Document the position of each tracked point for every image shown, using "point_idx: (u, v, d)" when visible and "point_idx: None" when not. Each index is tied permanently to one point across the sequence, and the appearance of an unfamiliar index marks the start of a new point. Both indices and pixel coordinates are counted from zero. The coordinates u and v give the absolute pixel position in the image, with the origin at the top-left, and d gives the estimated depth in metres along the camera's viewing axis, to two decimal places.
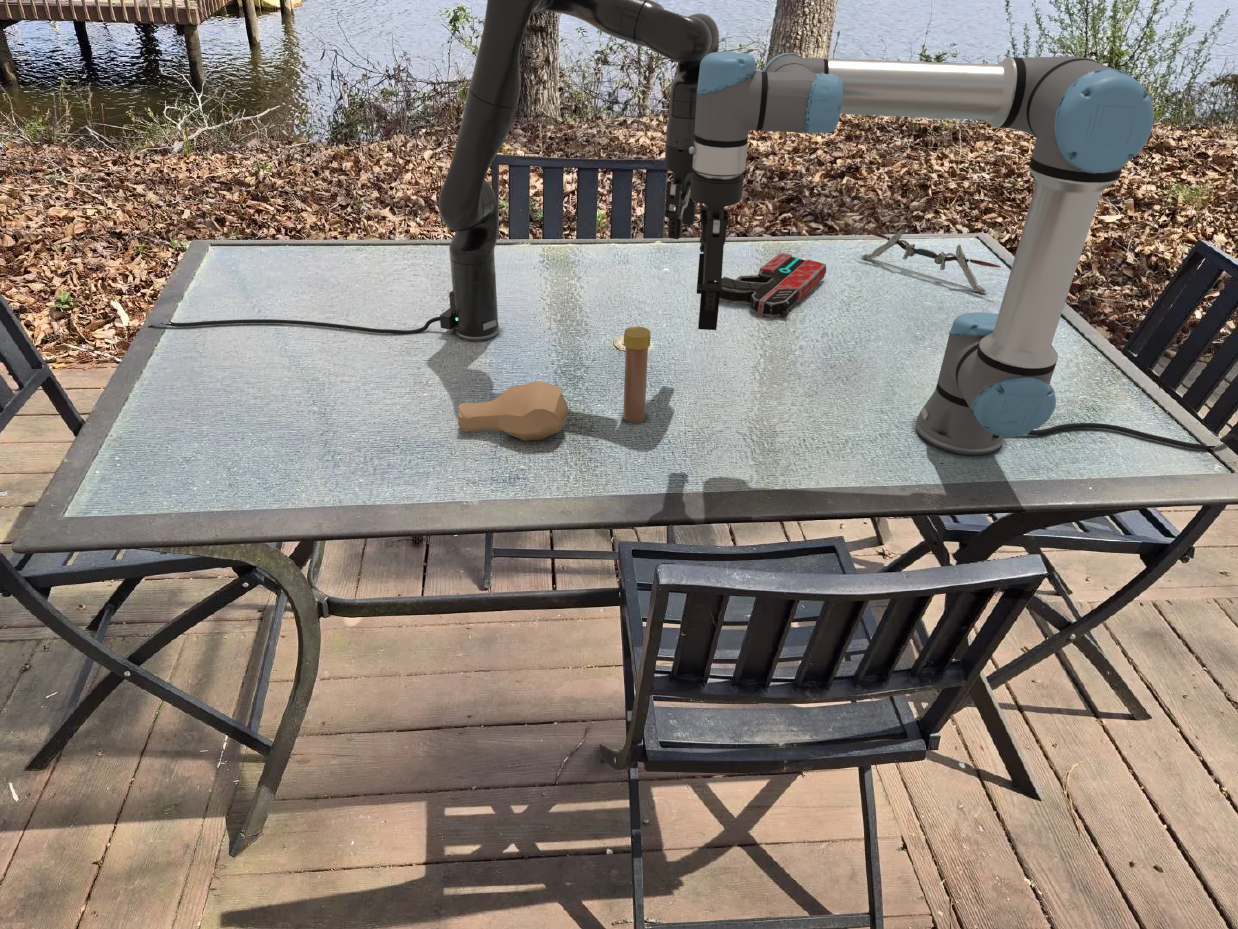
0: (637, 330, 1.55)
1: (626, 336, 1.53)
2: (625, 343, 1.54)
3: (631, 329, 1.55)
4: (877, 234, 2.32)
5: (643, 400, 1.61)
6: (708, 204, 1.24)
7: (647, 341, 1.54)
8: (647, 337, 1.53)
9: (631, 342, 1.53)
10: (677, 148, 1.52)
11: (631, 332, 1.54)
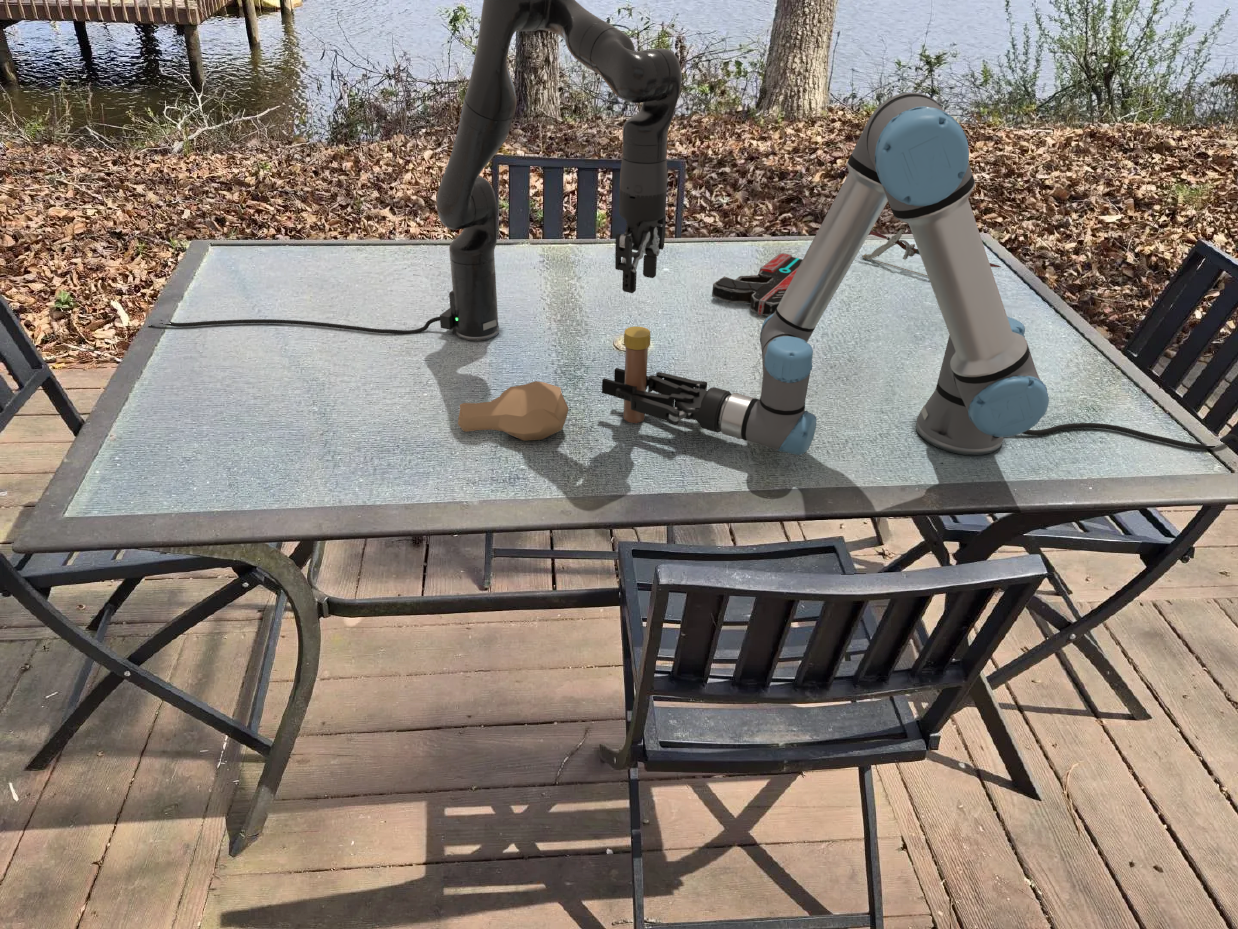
0: (637, 330, 1.55)
1: (626, 336, 1.53)
2: (625, 343, 1.54)
3: (631, 329, 1.55)
4: (877, 234, 2.32)
5: None
6: None
7: (647, 341, 1.54)
8: (647, 337, 1.53)
9: (631, 342, 1.53)
10: (629, 194, 1.38)
11: (631, 332, 1.54)
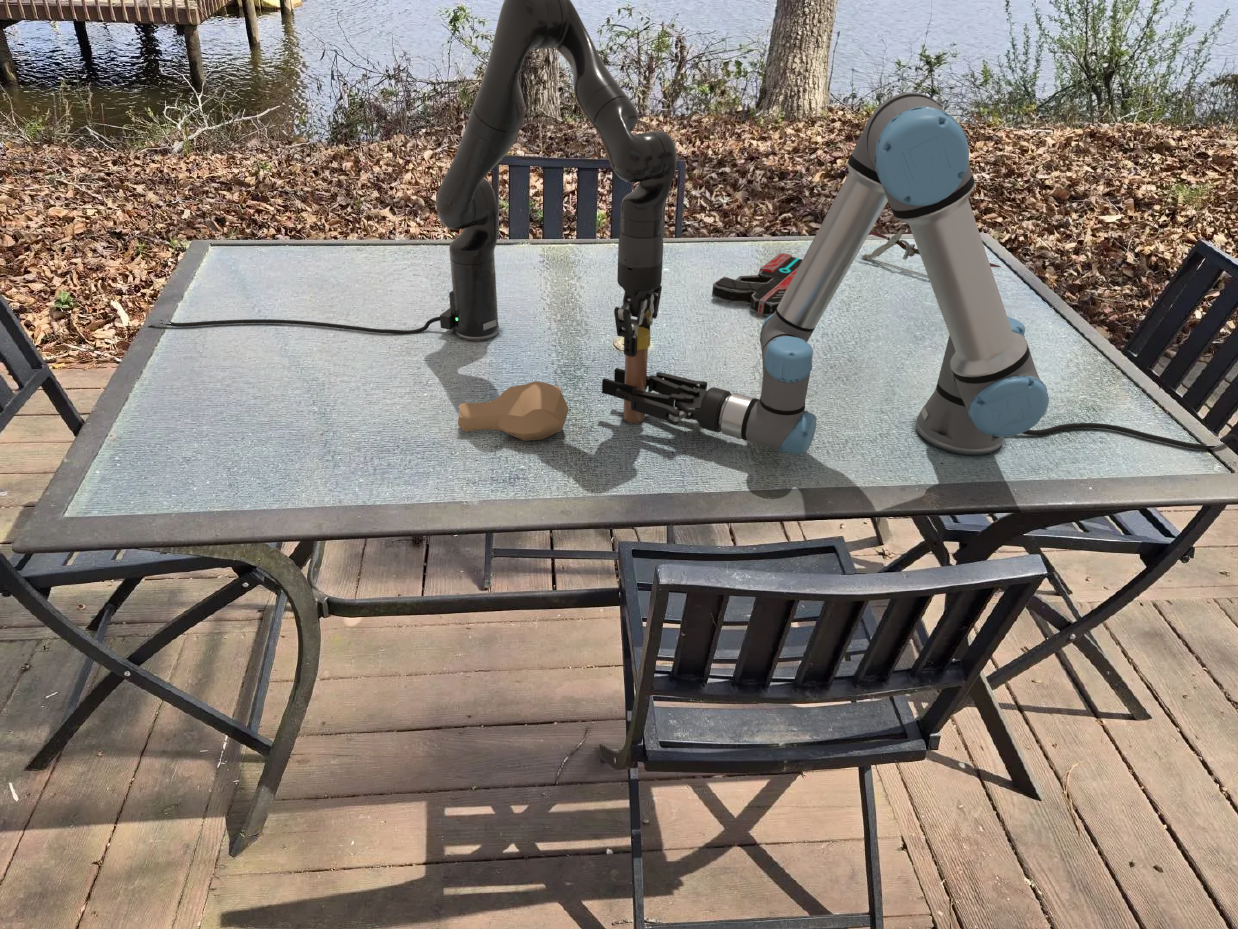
0: None
1: None
2: None
3: None
4: (877, 234, 2.32)
5: None
6: None
7: (647, 341, 1.54)
8: (647, 337, 1.53)
9: None
10: (626, 266, 1.44)
11: None
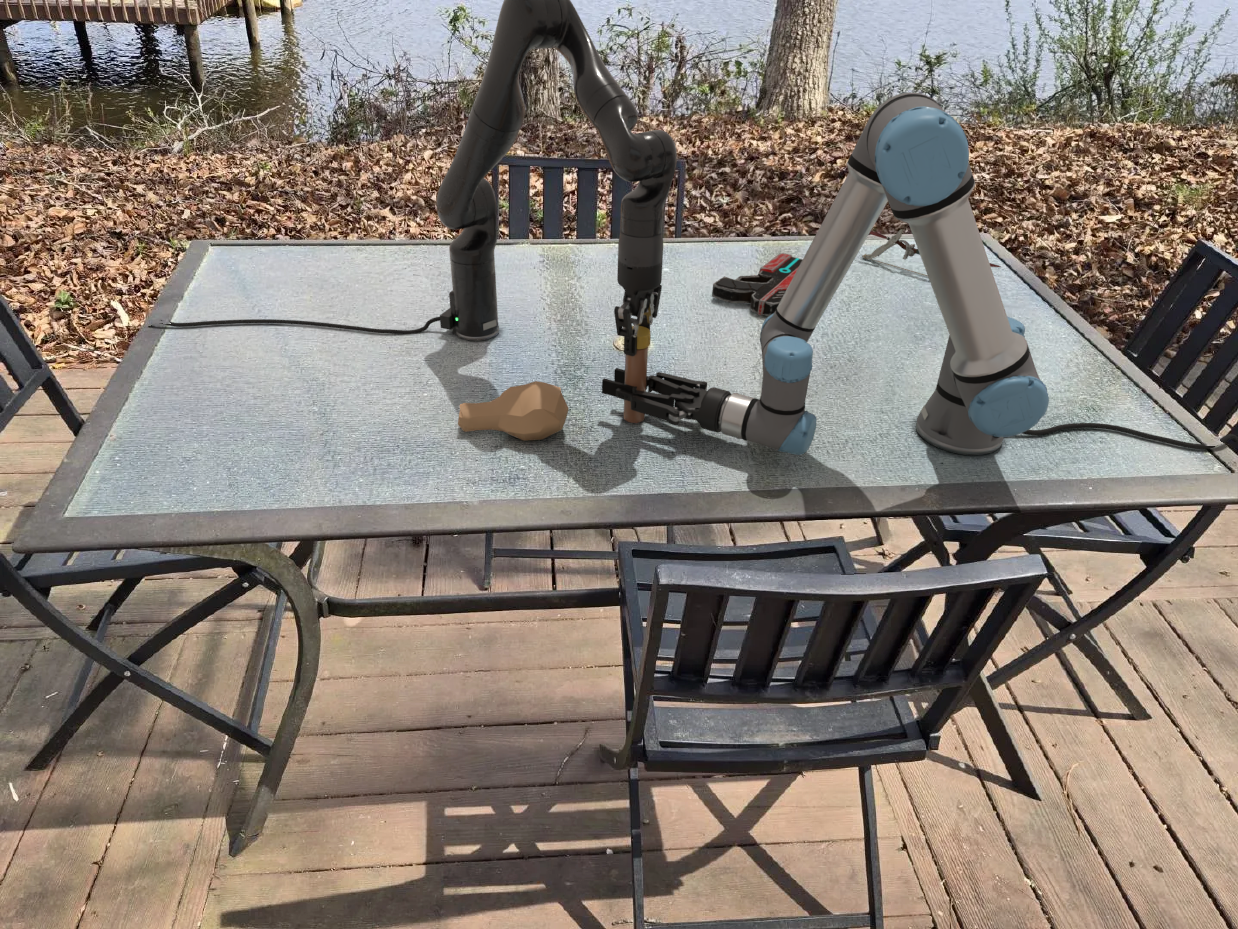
0: None
1: (645, 337, 1.53)
2: (644, 345, 1.54)
3: None
4: (877, 234, 2.32)
5: None
6: None
7: None
8: None
9: (649, 339, 1.54)
10: (626, 265, 1.44)
11: (640, 333, 1.53)
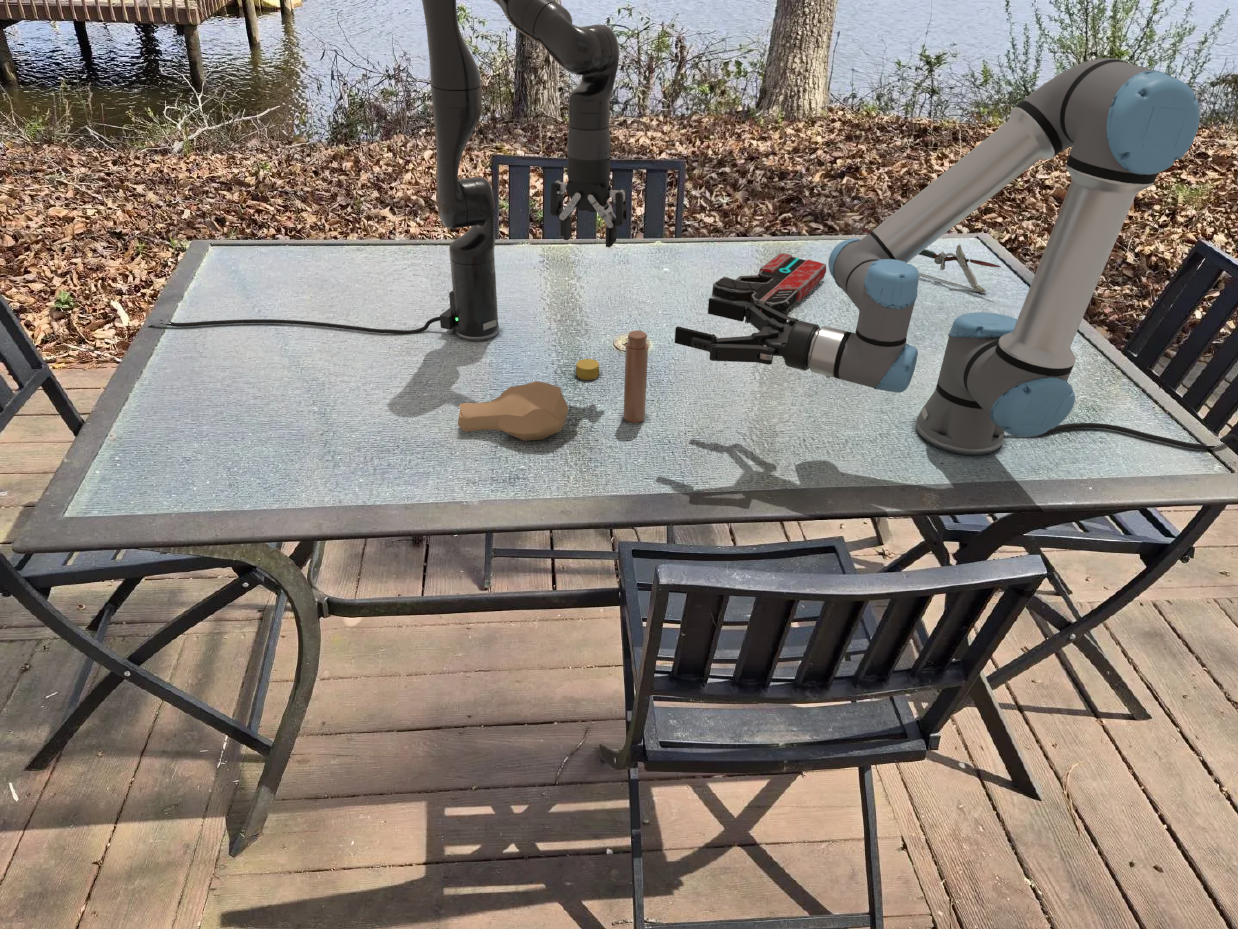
0: (587, 362, 1.77)
1: (581, 369, 1.75)
2: (580, 375, 1.76)
3: (581, 362, 1.77)
4: None
5: (643, 400, 1.61)
6: None
7: (598, 370, 1.76)
8: (598, 367, 1.76)
9: (586, 374, 1.75)
10: (606, 158, 1.52)
11: (583, 365, 1.76)
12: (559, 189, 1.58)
